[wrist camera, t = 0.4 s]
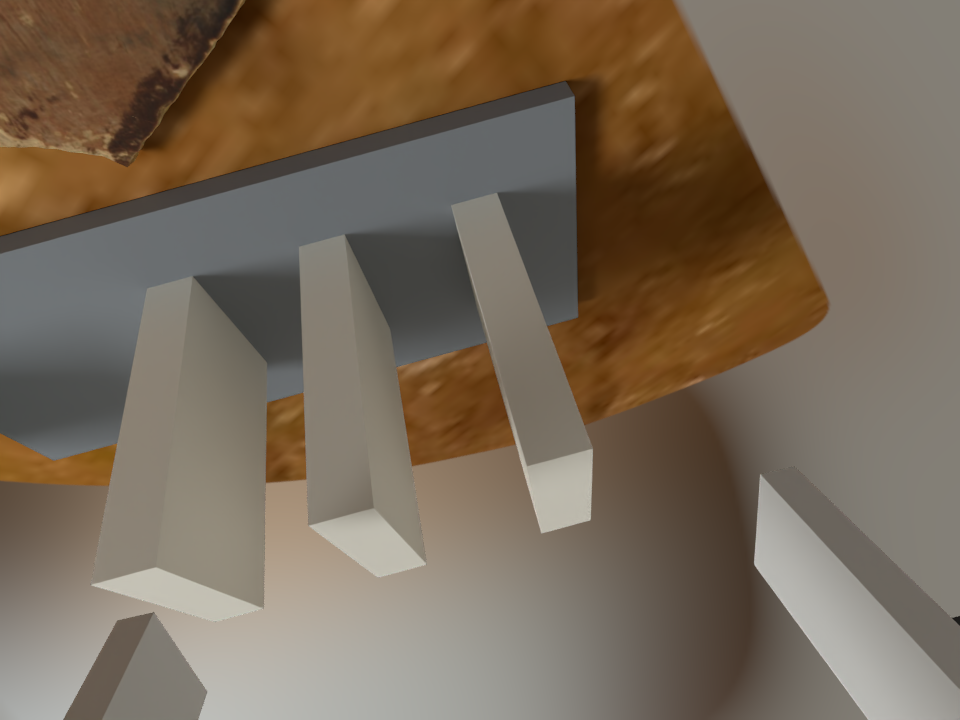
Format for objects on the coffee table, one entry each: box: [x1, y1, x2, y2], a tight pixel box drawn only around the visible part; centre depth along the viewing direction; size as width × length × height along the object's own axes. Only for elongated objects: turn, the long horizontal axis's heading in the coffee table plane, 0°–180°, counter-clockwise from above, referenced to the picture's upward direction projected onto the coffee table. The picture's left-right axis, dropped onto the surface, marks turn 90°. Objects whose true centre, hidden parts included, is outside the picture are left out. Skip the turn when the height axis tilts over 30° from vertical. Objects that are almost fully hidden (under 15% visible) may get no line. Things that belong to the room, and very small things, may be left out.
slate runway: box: [0, 81, 578, 460], centre depth 24 cm, size 12×28×1 cm, turn 99°
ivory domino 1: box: [91, 276, 267, 622], centre depth 20 cm, size 6×2×11 cm, turn 9°
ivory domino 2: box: [299, 234, 427, 577], centre depth 20 cm, size 6×2×11 cm, turn 9°
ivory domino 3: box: [451, 193, 593, 533], centre depth 20 cm, size 6×2×11 cm, turn 9°
